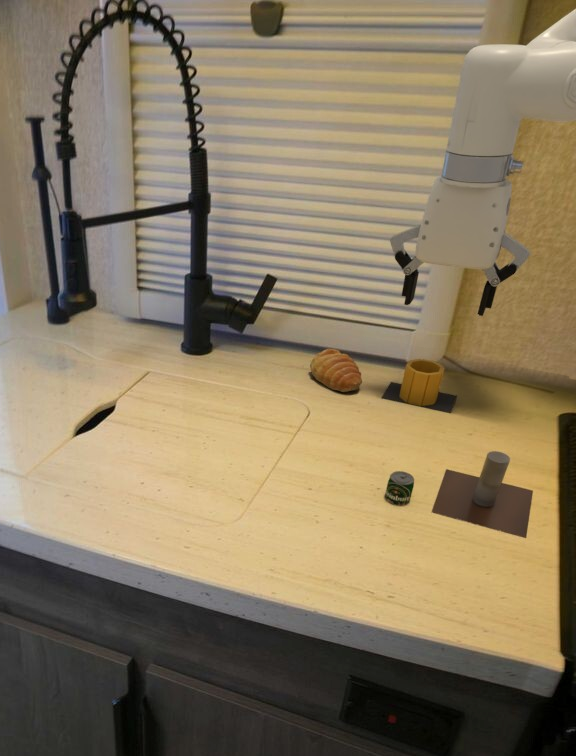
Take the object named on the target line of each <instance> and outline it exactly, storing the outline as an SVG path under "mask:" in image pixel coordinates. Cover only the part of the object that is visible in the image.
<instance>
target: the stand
mask: <svg viewBox="0 0 576 756" xmlns="http://www.w3.org/2000/svg"><path fill="white" fill-rule="evenodd" d="M510 462H511V457H510V456H509V455H508V454H506V453H505V452H502V451H498V450H497V451H495V450H494V451H489V452H488V453H487V454H486V456H485V459H484V462H483V465H482V469H481V472H480V473H479V476H476V475H472V474H468V473H464V472H459V471H455V470H452V469H448V468H447V469H445V471H444V475H443V477H442V480H441V482H440V486H439V488H438V491H437V495H436V498H435V500H434V503H433V506H432V509H431V514H435V515H438V516H442V517H446V518H449V519H453V520H457V521H461V522H464V523H468V524H472V525H475V526H479V527H483V528H487V529H490V530H494V531H497V532H501V533H504V534H509V535H513V536H517V537H519V538H523V539H527V534H528V529H529V521H530V516H531V515H530V514H531V508H532V501H533V493H534V490H532V489H529V488H524V487H520V486H516V485H513V484H508V483H504V482H503V481H504V479H505V476H506V473H507V470H508V467H509V464H510Z"/></svg>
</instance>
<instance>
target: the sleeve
mask: <svg viewBox="0 0 576 756" xmlns="http://www.w3.org/2000/svg"><path fill="white" fill-rule="evenodd" d="M444 373H445V366H443V365H442V364H440V363H439V362H437V361H435V360H430V359H425V358H417V359H410V360H408V361H407V363H406V365H405V368H404V372H403V377H402V381H401V384H402V386H401V390H400V395H399V396H400V398H401V399H402V400H404V401H405V402H406V403H409V404H413V405H412V406H414V405H418V406H421V405H422V406H427V405H433V404H435V402H436V399H437V396H438V392H440V389H441V384H442V381H443V376H444ZM409 404H408V405H409ZM418 406H417V407H418Z"/></svg>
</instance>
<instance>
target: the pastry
mask: <svg viewBox="0 0 576 756" xmlns="http://www.w3.org/2000/svg"><path fill="white" fill-rule="evenodd" d="M309 368H310V371H311V375H312V376H313V377H314V378H315V380H316V381H318V382H319V383H322V385H323V386H325V387H327V388H328V389H331V390H332V391H339V392H340V393H341V392H342V393H347V392H350V391H355V390H358V389H359V388H360V386H361V385H362V383H363V379H362V373H361V371H360V369H359V368H360V367H359V366H358V365H357V363H356V362H355V360H354V359H353V358H351V357H350V355H348V354H347V353H341V352H340V350H338V349H335V348H326V349H323V350H322V351H320V352H318V353H317V354H316V355H315V356H314V357H313V358H312V359H311V361H310V363H309Z"/></svg>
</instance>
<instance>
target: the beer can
mask: <svg viewBox="0 0 576 756" xmlns="http://www.w3.org/2000/svg"><path fill="white" fill-rule="evenodd" d="M414 486H415V477H414V476H413V475H412V474H411V473H409V472H406V471H403V470H401V471H400V470H398V471H397V470H396V471H394V472H392V473H391V474H390V475H389V478H388V481H387V484H386V489H385V493H384V500H385V501H387V502H388V503H389V504H391V505H394V506H400V507H402V506H407V505H408V504H409V503H410V501H411V498H412V494H413V490H414V488H415V487H414Z"/></svg>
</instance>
